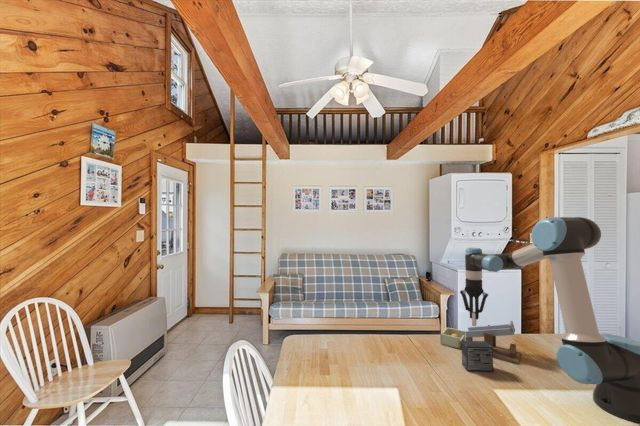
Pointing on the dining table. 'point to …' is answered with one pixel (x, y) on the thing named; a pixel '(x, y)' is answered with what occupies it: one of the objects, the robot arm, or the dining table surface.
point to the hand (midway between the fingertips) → (474, 325)
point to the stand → (500, 349)
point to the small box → (477, 356)
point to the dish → (452, 338)
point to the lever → (491, 330)
